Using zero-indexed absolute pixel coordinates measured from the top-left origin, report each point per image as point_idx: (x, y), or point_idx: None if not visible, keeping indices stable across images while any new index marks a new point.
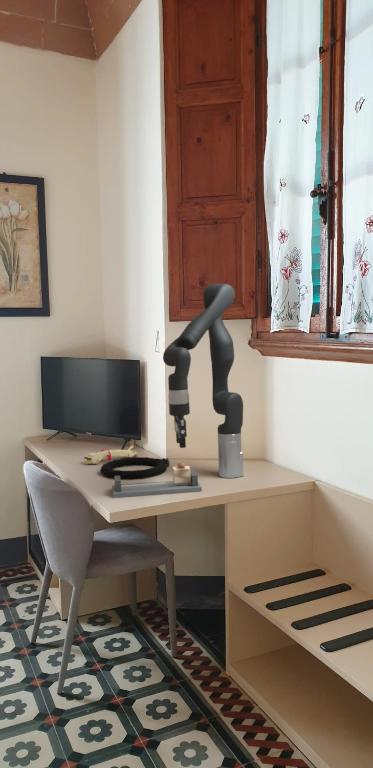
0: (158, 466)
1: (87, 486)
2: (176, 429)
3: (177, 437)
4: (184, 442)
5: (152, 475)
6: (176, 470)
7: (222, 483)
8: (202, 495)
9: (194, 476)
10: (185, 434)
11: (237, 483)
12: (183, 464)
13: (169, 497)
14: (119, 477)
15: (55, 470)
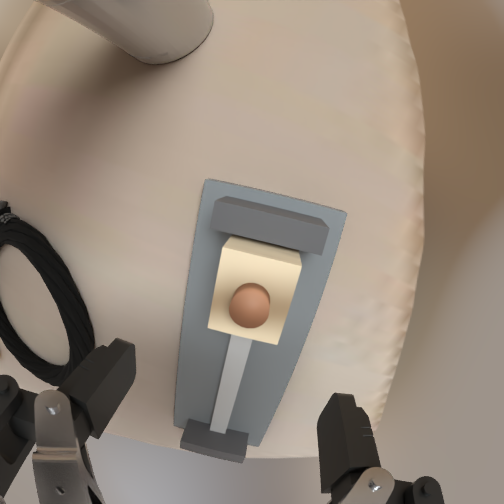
0: (38, 266)
1: (138, 434)
2: (95, 481)
3: (112, 406)
4: (371, 436)
5: (78, 293)
6: (280, 333)
7: (267, 83)
8: (391, 232)
9: (323, 243)
10: (434, 497)
11: (296, 38)
12: (267, 304)
13: (346, 339)
14: (204, 448)
15: None
